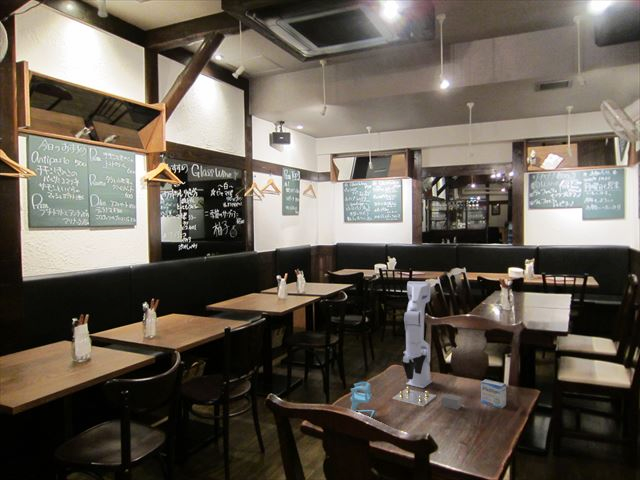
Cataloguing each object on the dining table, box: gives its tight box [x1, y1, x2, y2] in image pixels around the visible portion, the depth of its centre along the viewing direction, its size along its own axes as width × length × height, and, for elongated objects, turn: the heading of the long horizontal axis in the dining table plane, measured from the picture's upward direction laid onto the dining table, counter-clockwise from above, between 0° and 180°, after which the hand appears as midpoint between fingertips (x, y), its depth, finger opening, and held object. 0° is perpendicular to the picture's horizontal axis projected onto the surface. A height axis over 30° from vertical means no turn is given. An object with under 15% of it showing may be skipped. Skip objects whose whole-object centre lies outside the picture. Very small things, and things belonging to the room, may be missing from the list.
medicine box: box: [480, 378, 507, 409], centre depth 164 cm, size 8×4×9 cm, turn 47°
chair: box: [349, 381, 375, 417], centre depth 157 cm, size 8×8×12 cm
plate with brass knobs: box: [392, 386, 437, 407], centre depth 172 cm, size 12×13×3 cm
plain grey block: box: [441, 393, 462, 411], centre depth 163 cm, size 9×11×5 cm
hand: (414, 376), depth 172 cm, fingers open, 7 cm apart
